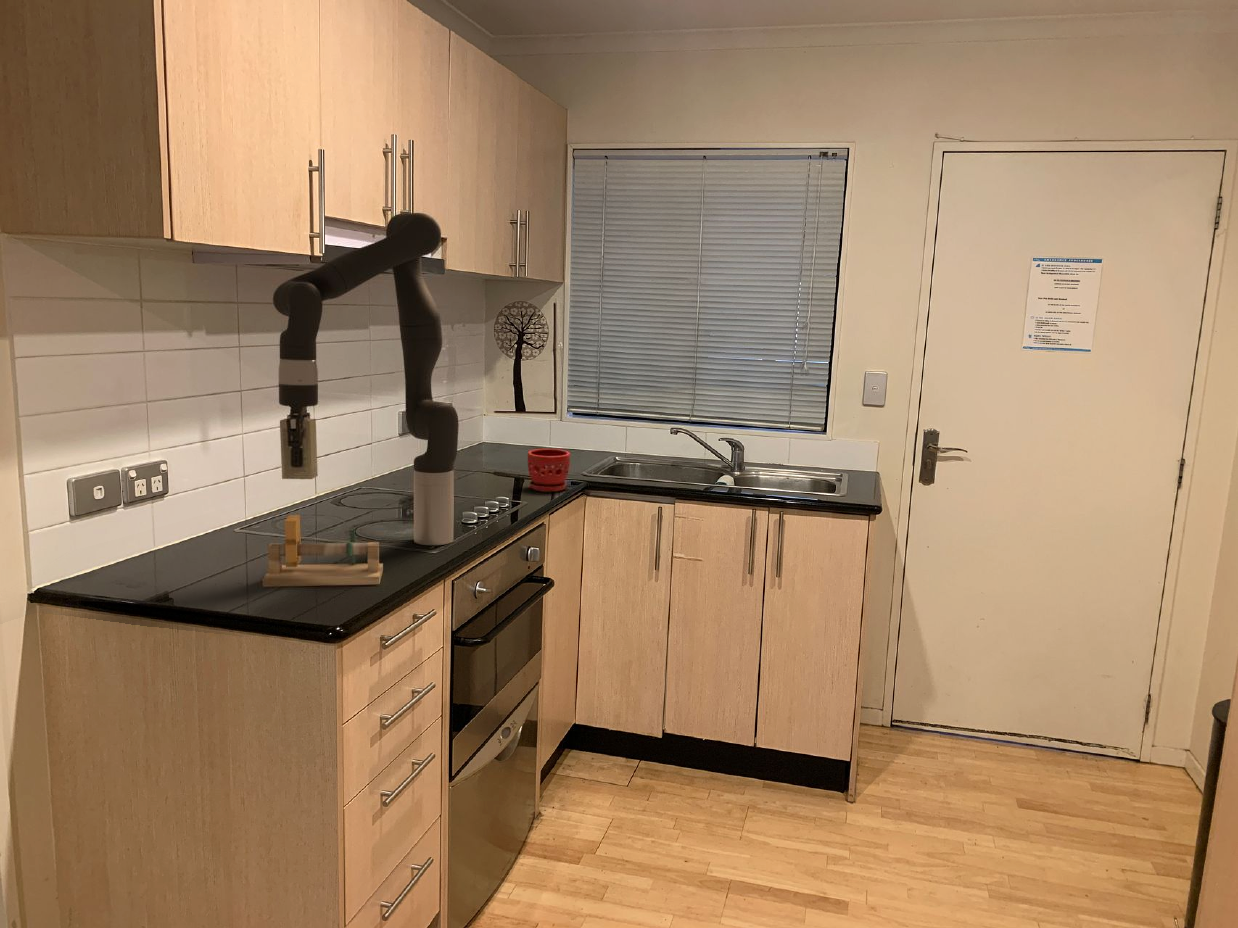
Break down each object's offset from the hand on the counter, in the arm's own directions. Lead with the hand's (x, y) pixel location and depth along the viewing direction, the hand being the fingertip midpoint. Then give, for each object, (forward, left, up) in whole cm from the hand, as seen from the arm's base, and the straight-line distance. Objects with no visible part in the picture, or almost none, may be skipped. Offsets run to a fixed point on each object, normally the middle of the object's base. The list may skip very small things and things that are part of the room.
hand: (299, 464), depth 186 cm
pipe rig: (+8, +6, -22) cm, 24 cm away
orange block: (+8, 0, -19) cm, 20 cm away
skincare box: (0, 0, -3) cm, 3 cm away
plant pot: (-84, +61, -22) cm, 106 cm away
